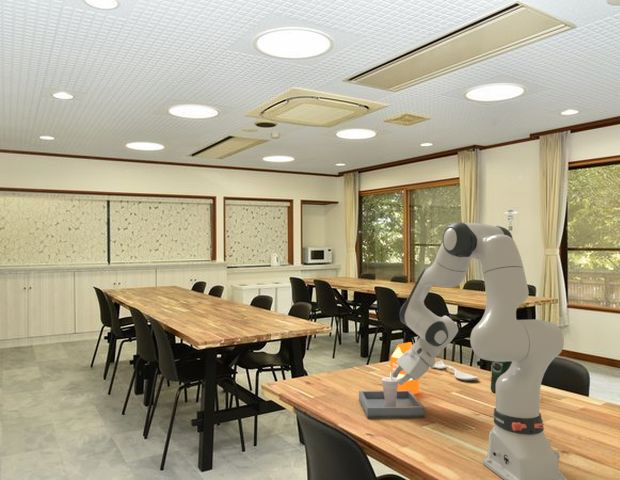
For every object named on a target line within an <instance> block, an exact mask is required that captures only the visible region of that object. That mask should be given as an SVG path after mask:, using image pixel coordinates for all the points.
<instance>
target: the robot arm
mask: <svg viewBox="0 0 620 480" xmlns="http://www.w3.org/2000/svg"><path fill="white" fill-rule="evenodd" d="M472 259H475V260H479V261H480V264H481V269H482V276H483V281H484V288H485V297H486V303H485V304H486V305H485V310H484V313H483V315H482V318H481V319H480V320H479V322H478V323H477V324H476V325H475V326H474V327H473V328H472V330H471V332H470V337H469V341H470V347H471V349H472V351H473V353H474V354H475V356H477V357H478V358H479V359H480V360H484V361H490V362H492V361H495V362H505V361H512V364H511V366H510V367H509V369H508V370H507V371H506V372H505V373H504V374H502V375H501V376H500V377H499V378H498V379H497V381H496V393H495V407H494V409H493V423H494V426H493V427H492V429H491V430H490V431H489V433H488V447H487V457H485V458H483V459H482V464H483V465H484V466H485V467H487V468H488V469H489V470H491V471H492V472H494V473H495V474H496V475H498V476H499V477H500V478H501V479H503V480H568V479H567V477H566V476H565V475H564V474H563V472H562V471H561V470H560V468H559V467H560V465H559V460H560V457H561V456H560V453H559V451H558V450H553V447H552V446H551V441H550V440H548V438H547V437H546V435H545V433H544V430H545V427H544V425H545V424H544V421H543V417H542V414H541V413H540V402H541V399H540V398H541V388H542V382H543V378H544V376H545V373H546V371H547V369H548V367H549V365H550V364H551V363H552V361H554V359H555V358H557V357H558V356H559V355H560V354H561V353H562V352H563V348H564V345H565V337H564V334H563V332H562V330H561V328H560V327H559V326H558V325H557V324H556V323H555V322H552V321H548V320H543V319H517V310H518V308H519V307H520V306H521V305H522V304H524V303H525V302H526V301H527V299H528V297H529V294H530V292H529V287H528V282H527V277H526V273H525V269H524V264H523V260H522V256H521V254H520V252H519V249H518V246H517V244H516V242H515V240H514V238H513V235H512V232H510V230H509V229H507V228H505V227H503V226H500V225H491V224H485V223H482V222H462V221H461V222H454V223H451V224H449V225H448V226H447V227H446V228H445V230H444V233H442V243H441V245H440V246H439V248H438V250H437V253H436V256H435V258H434V261H433V263H432V264H431V265H427V266H426V267H425V268H424V269H423V270H422V271H421V273H420V275H419V276H418V278H417V280H416V282H415V284H414V286H413V288H412V290H411V292H410V293H409V295H408V297H407V299H406V301H405V302H404V303H403V304H402V306H401V307H400V309H399V320H400V322H401V323H402V324H404V325H405V326H406V327H408V328H409V329H410V330H411V331H413V332H414V333H415V334H416V335H417V336H419V338H418V339H417V340H416V341H415V342H414V343H413V344H412V346H411V347H410V348H411V349H412V350H410V349H409V350H407V351H406V352H405V353H404V354H403V355H402V356H401V357H399V358H398V360H397V361H396V363H397V364H398V366H397V367H396V369H395V371H394V372H393V377H394V378H397V377H398V374H399V373H400V372H402V371H403V370H404V371H405V372H406V373H405V374H404V376H403V377H402V378H400V379H399V380H398V381H397V382H398V384H399V385H403V384H404V383H405V382H407V381H408V380H410V379H411V378H412V379H413V380H414V381H415V380H417V379H419V380H420V378H422V377H423V375H425V373H427V372H428V371H429V369H430V368H434V367H433V366H434V365H435V363H436V358H437V357H438V355H439V353H440V352H441V351H443V350H444V349H446V347H447V346H449V344H450V343H451V342H452V341H453V339H454V338H455V337H456V336H457V334H458V333H459V327H458V325H457V324H456V323H455V321H454V320H453V319H452V318H450V316H447V315H443V316H438V315H437V314H435V313H433V312H432V311H431V310H430V309H429V308H427V306H426V305H425V299H426V297H427V296H428V294H429V292H430V290H431V288H432V287H439V288H445V289H450V288H455V287H457V286H459V285H461V284H462V283H463V281H464V280H465V278H466V275H467V273H468V271H469V268H470V264H471V261H472Z"/></svg>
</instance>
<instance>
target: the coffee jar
mask: <svg viewBox="0 0 620 480" xmlns="http://www.w3.org/2000/svg"><path fill="white" fill-rule="evenodd" d="M511 364H512V361H505V362H495V361H491V377H490V391H491V392H493V393H495V394H496V381H497V379H498V378H499V377H500V376H501V375H502V374H504V373H505V372H506V371H507V370H508V369H509V367H510V366H511Z"/></svg>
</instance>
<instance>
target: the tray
mask: <svg viewBox="0 0 620 480" xmlns="http://www.w3.org/2000/svg"><path fill="white" fill-rule="evenodd" d="M358 401H359V404H360V406H361V407H362V410H363V412H364V414H365V416H366V418H367V419H408V418H410V419H413V418H415V419H416V418H419V419H420V418H426V412H425V411H426V407H425V405H423V403H422V402H421V401H420V400H419V399H418V397H417V396H416V394H413V393H412V392H411V391H410V390H407V391H397V398H396V406H395V407H386V406H385V399H384V391H383V390H359V391H358Z"/></svg>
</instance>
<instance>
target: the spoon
mask: <svg viewBox="0 0 620 480" xmlns="http://www.w3.org/2000/svg"><path fill="white" fill-rule="evenodd" d="M432 368H435V369H439V370H443V369H446V368H448V369H449V370H452V371H454V374H453V375H454V377H455V378H457V379H458V380H461V381H468V382H471V381H475V380H478V379H479V376H476V375H473V374H470V373H466V372H463V371H460V370H458V369H457V368H456V367H454V366H450V365H446V364H445V363H444V361H443V360H442V359H440V360H438V361H436V362H435V365H434V366H433V367H432Z"/></svg>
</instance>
